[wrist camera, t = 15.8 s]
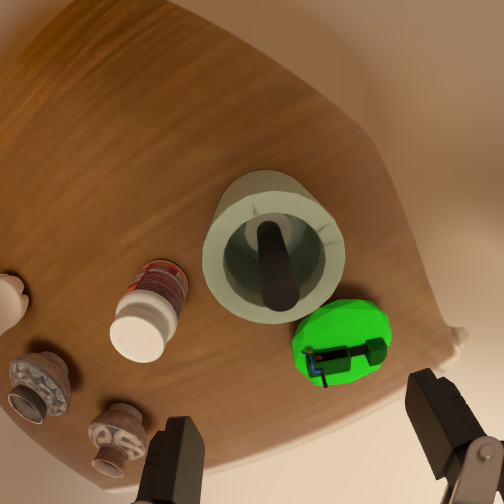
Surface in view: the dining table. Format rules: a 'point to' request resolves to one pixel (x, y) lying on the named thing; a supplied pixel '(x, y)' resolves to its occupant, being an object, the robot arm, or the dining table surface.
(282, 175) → the jar
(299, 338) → the green rounded lump
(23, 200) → the dining table surface
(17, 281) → the water bottle
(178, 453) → the robot arm
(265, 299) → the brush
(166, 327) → the pill bottle
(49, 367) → the pottery
